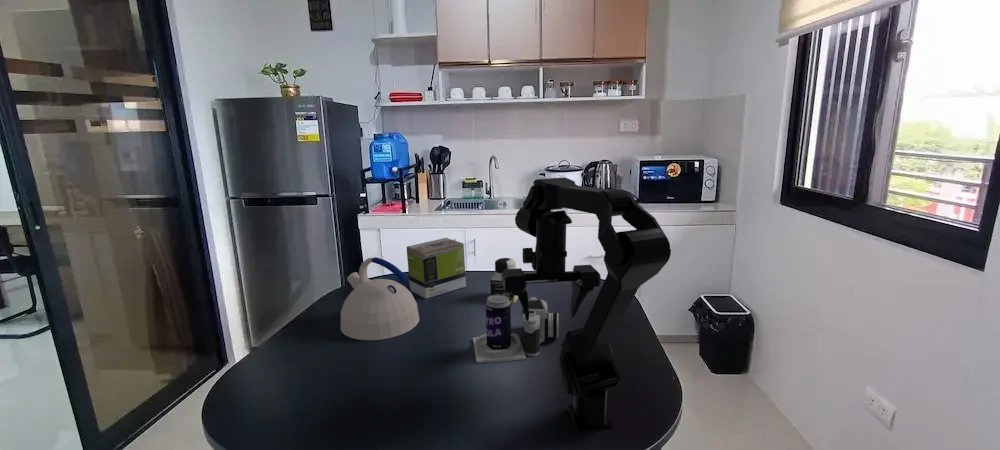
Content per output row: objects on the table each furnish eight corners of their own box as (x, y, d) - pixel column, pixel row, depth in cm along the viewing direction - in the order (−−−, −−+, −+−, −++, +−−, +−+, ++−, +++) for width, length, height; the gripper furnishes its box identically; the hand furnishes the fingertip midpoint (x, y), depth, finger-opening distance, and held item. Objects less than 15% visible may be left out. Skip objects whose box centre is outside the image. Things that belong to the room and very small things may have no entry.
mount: (526, 359, 102) (526, 351, 101) (476, 363, 100) (476, 355, 100) (517, 336, 112) (517, 328, 112) (472, 339, 111) (472, 332, 111)
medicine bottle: (490, 301, 134) (489, 262, 131) (497, 292, 140) (497, 255, 138) (514, 304, 132) (513, 264, 129) (520, 295, 138) (520, 257, 136)
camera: (558, 358, 102) (559, 316, 100) (520, 356, 103) (520, 315, 101) (557, 326, 118) (558, 289, 115) (524, 325, 119) (524, 288, 116)
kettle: (379, 302, 135) (375, 243, 131) (435, 316, 125) (432, 253, 120) (322, 329, 118) (314, 262, 114) (381, 349, 108) (375, 276, 103)
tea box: (449, 279, 153) (447, 236, 149) (466, 287, 145) (465, 242, 142) (408, 290, 143) (405, 245, 140) (425, 300, 136) (422, 252, 132)
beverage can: (485, 341, 109) (484, 294, 106) (509, 340, 109) (509, 293, 106) (487, 353, 103) (486, 303, 100) (512, 352, 104) (512, 302, 101)
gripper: (584, 230, 97) (582, 299, 101) (497, 234, 95) (498, 305, 99) (603, 245, 87) (600, 321, 90) (505, 250, 84) (506, 328, 88)
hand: (549, 318), depth 92 cm, fingers open, 9 cm apart
